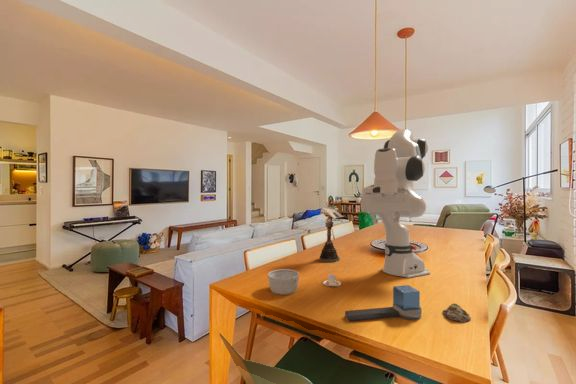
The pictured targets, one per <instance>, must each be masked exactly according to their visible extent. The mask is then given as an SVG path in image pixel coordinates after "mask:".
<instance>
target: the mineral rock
mask: <svg viewBox="0 0 576 384" xmlns="http://www.w3.org/2000/svg"><path fill="white" fill-rule="evenodd" d="M442 313H443V316H444V318H448V319H449V320H453V321H457V322H461V323H465V322H470V321H471V319H472V318H471V316H470V314H469V313H468V312H467V311H466V310H464V309H463V308H462V307H461V306H460V305H459V304H458V303H451V304H449V306H448V307H447V308H446V309H443V310H442Z"/></svg>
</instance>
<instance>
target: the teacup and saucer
mask: <svg viewBox="0 0 576 384" xmlns="http://www.w3.org/2000/svg"><path fill="white" fill-rule="evenodd" d="M327 278H328V279H327V280H324V281H323V282H322V284H323V285H325V286H328V287H338V286H341V285H342V283H341V281H339V280H336V274H333V273H328V275H327ZM327 281H328V282H327ZM327 283H328V284H327Z"/></svg>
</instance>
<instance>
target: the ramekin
mask: <svg viewBox="0 0 576 384" xmlns="http://www.w3.org/2000/svg"><path fill="white" fill-rule="evenodd" d="M267 278H268V286H269V289H270V291H271V293H274V294H276V295H282V296H283V295H284V294H285V295H290V294H293V293H295V292H296V291H297V289H298V284H299V278H300V274H299V272H298V271H296V270H295V269H289V268H286V269H285V268H282V269H280V268H279V269H275V270H272V271H269V272H268V273H267Z"/></svg>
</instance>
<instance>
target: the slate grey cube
mask: <svg viewBox="0 0 576 384" xmlns="http://www.w3.org/2000/svg"><path fill="white" fill-rule="evenodd" d="M392 291H393V292H392V298H393V299H392V300H393V301H392V304H393V303H394V304H395V305H396V306H398V307H399V308H400V309H402V310H403V311H407V310H416V309H420V307H421V305H420V300H421V299H420V295H421V293H420V290H418V289H416V288H414V287H412V286H411V285H409V284H405V285H394V286H393V287H392Z"/></svg>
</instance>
